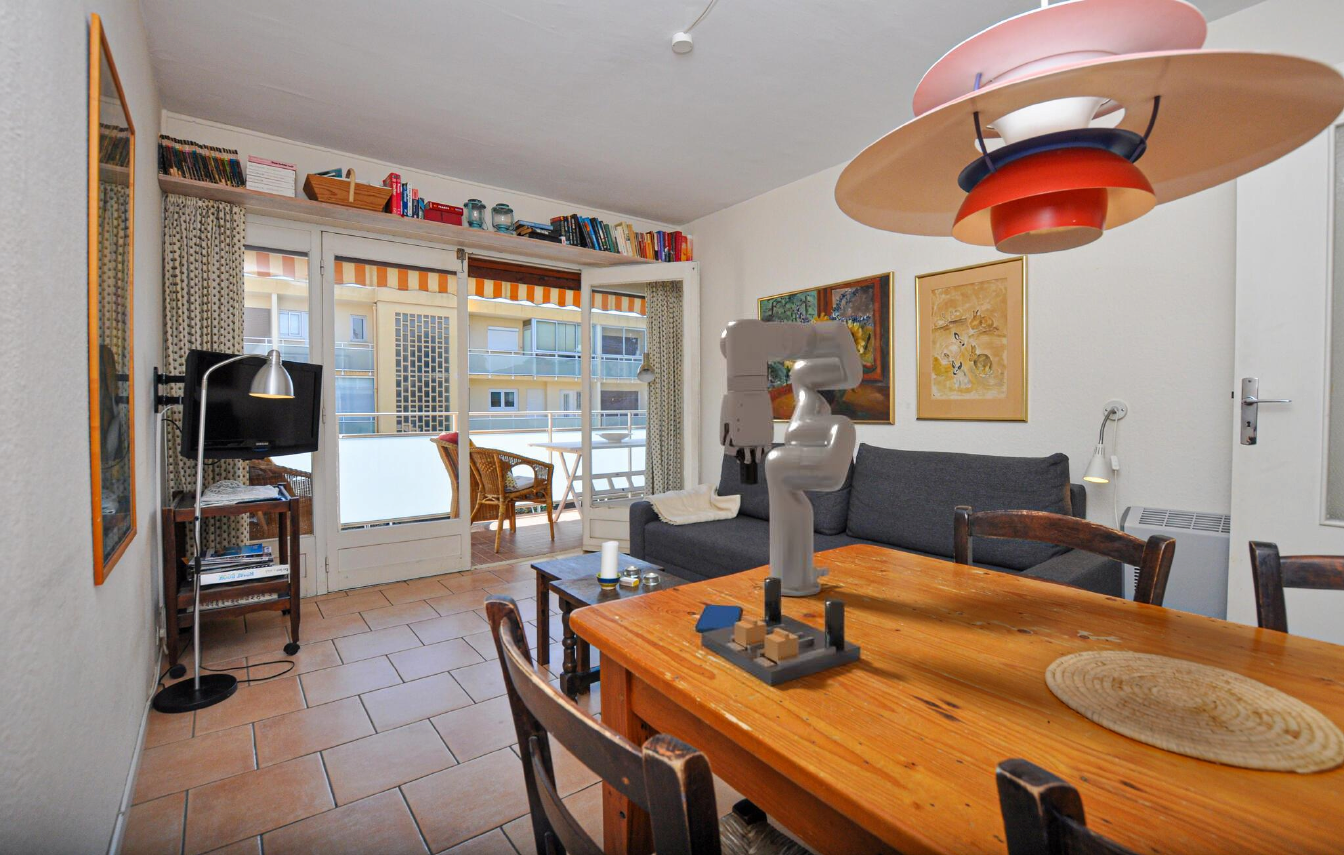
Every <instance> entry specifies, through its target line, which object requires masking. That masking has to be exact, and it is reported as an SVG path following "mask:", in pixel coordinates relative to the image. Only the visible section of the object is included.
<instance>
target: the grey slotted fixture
mask: <svg viewBox="0 0 1344 855" xmlns="http://www.w3.org/2000/svg"><path fill="white" fill-rule="evenodd" d="M763 582H764V588H763V589H764V591H763V592H764V594H763V596H764V606H763V607H764V612H763V613H764V618H762V619H758V620H759V621H761V622H764V623H766V635H770V634H774V629H776V628H779V629H781V630H783V631H786V632H789V633H791V634H793V635H795V636H797V637H798V655H797V656H794V657H790V658H786V659H783V660H779V661H777V662H776V661H774V660H772V659H770V658H768V657H766V656H765V641H763V642H759V643H755V644H751V645H747V647H744V646H742V645H741V644H739V643H737V642H735V626H731V627H727V628H722V629H718V630H713V631H709V632H705V633H704V632H701V646H703V647H704V648H706V649H707V650H709V651H711V652H713V653H715V654H716V655H717V656H720V657H721V658H723V659H725V660H726V661H728V662H730V663H731V664H733V665H735V666H736V667H738V668H740V669H741V670H743V671H745V672H746V673H748V674H750V675H752V676H753V677H755V678H757V679H758V680H760V681H761V682H764V683H765V684H767V685H768V686H770V687H774V686H777V685H780V684H783V683H785V682H786V683H787V682H790V681H794V680H797V679H801V678H803V677H807V676H809V675H813V674H816V673H819V672H822V671H826V670H830V669H834V668H837V667H840V666H843V665H846V664H850V663H853V662H856V661H860V660H861V646H860V645H858V644H854V643H853V642H850V641H848V640H845V636H846V634H845V630H846V628H845V627H846V626H845V616H846V615H845V609H846V608H845V607H846V606H845V600H843V599H840V598H827V599H825V600H824V630H821V629H820V628H816V627H814V626H812V625H811V624H810V625H809V624H807V623H805V622H802V621H801V620H799V619H795V618H793V617H790V616H788V615H786V614H782V595H781V579H780V578H775V577H770V576H769V577H765V578H764V579H763Z"/></svg>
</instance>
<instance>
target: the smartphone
mask: <svg viewBox="0 0 1344 855" xmlns="http://www.w3.org/2000/svg"><path fill="white" fill-rule="evenodd" d="M742 610H743V608H742V606H740V605H739V606H738V605H725V604H724V605H723V604H706V605H705V606H704V609H703V610H702V612H701V615H700V616H699V619H698V620H697V622H696V624H695V627H694V628H695V629H694V630H695V632H698V633H705V632H709V631H713V630H718V629H722V628H727V627H731V626H735V623H736V622H740V618H741V614H742Z"/></svg>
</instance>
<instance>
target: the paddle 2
mask: <svg viewBox="0 0 1344 855" xmlns="http://www.w3.org/2000/svg"><path fill="white" fill-rule="evenodd" d="M797 655H798V637H797V636H795V635H793V634H791V633H789V632H786V631H783V630H781V629H779V628H776V629H774V634H770V635H766V636H765V656H766V657H768V658H770V659H772V660H774V661H776V662H777V661H779V660H783V659H786V658H790V657H794V656H797Z"/></svg>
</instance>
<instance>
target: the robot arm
mask: <svg viewBox="0 0 1344 855" xmlns="http://www.w3.org/2000/svg"><path fill="white" fill-rule="evenodd" d="M719 347H720V348H719V349H720V352H721V355H722V356H723V358H724V359H726V391H727V392H726V394H723V397H722V401H721V407H720V417H719V443H720V445H721V446H723V447H724V449H723V452H724V453H725V454H727V455H730V456H733V457H734V458H735V459H736V462H737V463H739V472H740V473H739V478H740V484H742V485H747V486H752V485H758V484H759V481H758V480H759V476H758V475H759V469H758V468H759V466H758V464H759V463H761V460H762V459H761V458H762V457H763V455H764V454H765V453H767V455H766V457H765V461H764V471H765V472H764V473H765V478H766V483H767V489H768V500H769V503H768V504H769V577H775V578H780V579H781V596H784V597H786V596H787V597H807V596H812V595H813V596H814V595H816V594H818V593H819V592H821V590H822V584H821V583H820V582H819V581H818V579H819V578H820V577H821V578H822V577H827V576H828V575H830V570H829V568H828V567H827V566H824V567H819V568H818V567H817V566H814V564H815V561H814V510H813V509H814V507H813V506H812V503H811V501H810V500H809V498H808V497H807V495H806V494H805V492H804V491H814V492H815V491H817V492H836V491H838V490H840V489H841V488H842V486H843V485H844V483H845V481H846V478H847V476H848V472H849V468H850V466H851V462H852V459H853V456H854V452H855V449H856V443H857V431H856V426H855V424H854V422H853V421H852V420H851V419H850V418H849V417H848V416H846V415H841V414H832V408H831V406H830V403H828V401H827V400H826V399H825V398H824V397H823V395H821V393H819V392H818V391H828V390H830V391H831V390H835V391H836V390H851V389H855V388H857V387H858V386H859V385H860V384H861V382H862V379H863V375H864V374H863V372H864V371H863V364H862V361H861V358H860V354H859V351H858V348H857V346H856V342H855V340H854V337H853V335H852V332H851V331H850V329H849V327H848V325H846V323H845V322H843V321H841V320H838V319H837V320H836V319H835V320H826V321H814V322H798V321H781V322H780V321H764V320H761V319H758V318H742V319H734V320H731V321H729V322H728V323H727V324H726V328H725V329H724V330H723V331H722V333H721V335H720V338H719ZM792 361H795V362H794V363H793V365H792V367H791V372H790V378H791V386H792V387H791V388H792V393H793V398H794V401H795V402H794V403H795V407H794V411H793V413H792V416H791V417H790V420H789V423H788V425H787V427H786V429H785V433H784V438H783V439H784V440H783V441H784V445H782V446H777V447H775V448H773V445H772V443H773V442H774V437H775V423H774V412H773V411H774V410H773V404H772V400H771V394H770V393H769V392H768V388H769V387H770V386H771V381H770V380H769V379H768V362H772V363H773V362H775V363H776V362H780V363H781V362H792ZM772 448H773V449H772ZM762 587H763V589H764V581H763V582H762Z"/></svg>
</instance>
